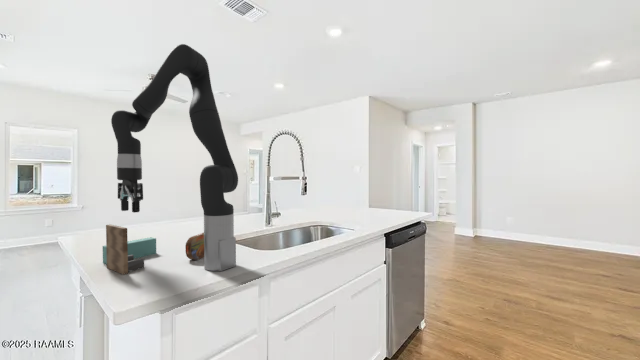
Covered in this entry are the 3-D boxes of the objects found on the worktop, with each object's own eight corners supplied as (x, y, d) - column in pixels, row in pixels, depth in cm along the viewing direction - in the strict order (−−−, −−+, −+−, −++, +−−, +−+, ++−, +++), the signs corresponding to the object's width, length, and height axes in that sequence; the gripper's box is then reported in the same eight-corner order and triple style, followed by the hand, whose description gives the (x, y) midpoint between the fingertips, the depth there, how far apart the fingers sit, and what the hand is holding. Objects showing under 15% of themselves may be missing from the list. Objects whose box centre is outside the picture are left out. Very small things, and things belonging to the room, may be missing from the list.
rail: (156, 253, 110) (156, 238, 110) (107, 265, 97) (107, 247, 96) (151, 252, 112) (150, 237, 112) (102, 263, 99) (102, 245, 99)
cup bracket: (147, 268, 92) (146, 225, 92) (123, 274, 86) (122, 228, 86) (129, 262, 99) (128, 222, 98) (106, 267, 93) (106, 224, 93)
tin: (191, 262, 98) (191, 238, 98) (183, 262, 99) (183, 238, 99) (216, 251, 113) (215, 230, 113) (208, 250, 114) (208, 229, 113)
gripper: (150, 166, 103) (150, 211, 103) (131, 167, 111) (132, 209, 111) (127, 166, 97) (127, 214, 97) (109, 167, 104) (109, 211, 105)
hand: (130, 211), depth 104 cm, fingers open, 8 cm apart
